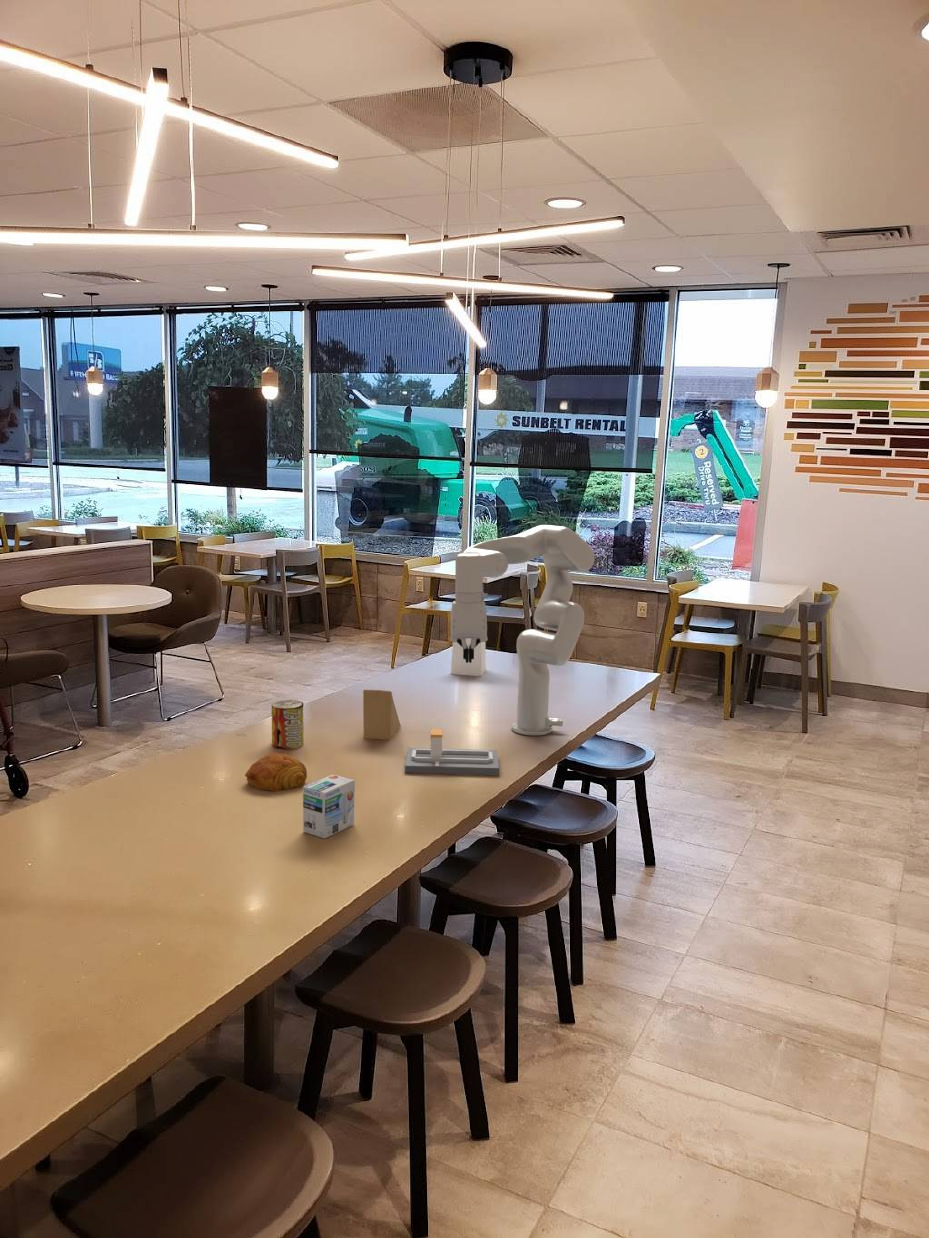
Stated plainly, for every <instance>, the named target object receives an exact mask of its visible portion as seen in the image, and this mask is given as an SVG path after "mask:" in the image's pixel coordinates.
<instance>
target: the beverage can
mask: <svg viewBox="0 0 929 1238" xmlns="http://www.w3.org/2000/svg"><path fill="white" fill-rule="evenodd" d="M304 723H305V722H304V702H303V701H301V700H296V699H295V700H294V699H283V700H276V701H274V702H272V703H271V745H272V747H273V748H274V749H279V750H293V749H299V748H301V747H303V746H304V745H305V743H304V729H305V728H304Z"/></svg>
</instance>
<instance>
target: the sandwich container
mask: <svg viewBox="0 0 929 1238" xmlns="http://www.w3.org/2000/svg"><path fill="white" fill-rule="evenodd" d="M362 692H363V695H362V696H363V698H362V700H363V704H362V705H363V707H362V708H363V709H362V711H363V715H362V716H363V720H362V721H363V722H362V723H363V739H373V740H385V741H386V740H387V741H390V740H391V739H392V738H393V737H394V736H395V735H396V734H397V732H398V730H399V729H400V727H401V723H400V720H399V716H398V712H397V709H396V705H395V702H394V699H393V692H392V691H390V690H382V689H363V691H362Z"/></svg>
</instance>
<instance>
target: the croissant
mask: <svg viewBox="0 0 929 1238" xmlns="http://www.w3.org/2000/svg"><path fill="white" fill-rule="evenodd" d="M244 774H245V775H244V776H245V778H246V781H247V782H248V784H250V785H251V786H252V787H255V788H256V789H259V790H264V791H272V792H278V791H279V792H280V791H283V790H289V789H293V788H296V787H301V786H303V785H304V784H305V783H306V781H307V777H308V770H307V768H306V766H305V764H304V763H303V762H301V761H300V760H299V759H298V758H295V757H294V756H292V755H290V754H289V755H288V754H285V753H281V752H273V753H268V754H266V755H264V756H263V757H261V758H259V759H257V760H256V761H255V762H253V763H252V764H251V766H250V767H249V769H248V770H247V771H246V773H244Z"/></svg>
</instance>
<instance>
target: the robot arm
mask: <svg viewBox="0 0 929 1238" xmlns="http://www.w3.org/2000/svg"><path fill="white" fill-rule="evenodd" d="M540 556H542V561H543V563H544V568H545V571H546V583H545V586H544V590H543V592H542V594H541V595H540V596H541V597H540V598H539V601H538V603H537V606H536V608H535V611H534V613H533V614H534V615H533V621H534V623H535V625H536V626H537V627H539V628H542V629H546V630H542V629H536V628H535V629H533V628H531V629H530V628H529V629H525V630H523V631H521V632H520V633H519V635H518V637H517V638H516V653H517V654H516V655H517V657H518V658H517V659H518V683H517V687H518V688H517V707H516V708H517V709H516V711H517V712H516V713H517V714H516V722H513V723H512V724H511V730H512V731H513V732H515V733H517V734H520V735H524V736H535V737H536V736H545V735H549V734H551V733H552V732H553V726H554V727H563V726H564V725H563V724H564V720H563V719H559V718H557V717H556V718H551V717H550V716H549V702H550V701H549V698H550V697H549V696H550V682H551V680H550V679H551V678H550V677H551V675H550V670H549V667H548V665H551V666H558V667H559V666H564V665H565V664H567V662H569V661H570V658H571V656H572V654H573V652H574V649H575V648H576V645H577V642H578V641H579V640H578V639H579V637H580V636H581V635H580V634H581V633H582V630H583V627H584V623H585V611H584V609H583V607H582V606H581V604H579V603H576V602H574V601H570V599H571V597H572V594H573V590H574V586H573V581H572V578H571V576H570V573H569V572H576V573H585V572H587V571H589V570H591V569H592V567H593V566H594V562H595V553H594V550H593V548H592V547H591V546H590V544H589V543H588V542H586V541H585V539H583V538H582V537H581V536H580V535H579V534H577V533H576V532H575V531H574V530H572V529H571V528H569V527H567V526H563V525H561V526H560V525H553V524H552V525H551V524H539V525H536V526H533V527H531V528H529V529H526V530H524V531H522V532H520V533H517V534H514V535H510V536H504V537H500V538H495V539H490V540H485V541H482V542H478V543H476V544H473V545H471V546H469V547H468V548H466V549H465V550H464V551H462V552H461V553H458V554H457V555H456V556H455V581H454V583H455V584H454V585H455V587H454V589H455V594H454V595H455V596H454V599H455V600H453V601H452V604H451V608H450V609H451V610H450V627H449V628H450V630H449V631H450V635H449V641H450V642H451V643H453V642H456V643H458V644H459V645H460V646H461V647H462V648H463V659H465V660H466V663H468V656H469V662H470V663H472V659H474V648H475V647H476V646H477V645H478V644H479V643H481V642H485V643H486V642H487V641H489V639H488V621H487V620H488V619H487V618H488V617H487V607H486V602H485V601H484V599H488V595H489V593H488V592H487V593H485V592H483V585H484V584H483V581H484V580H483V579H484V578H494V579H495V578H500V577H501V576H503V575H504V574H505V573H506V571H507V570H508V566H509V565H520V564H525V563H527V562H529V561H531V560H534V559H535V558H539V557H540ZM547 630H548V631H547ZM549 630H550V631H549ZM551 631H555V632H556V633H555V632H551ZM460 638H461V639H460ZM466 638H471V644H470V645H469V649H468V645H467V644H466Z"/></svg>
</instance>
